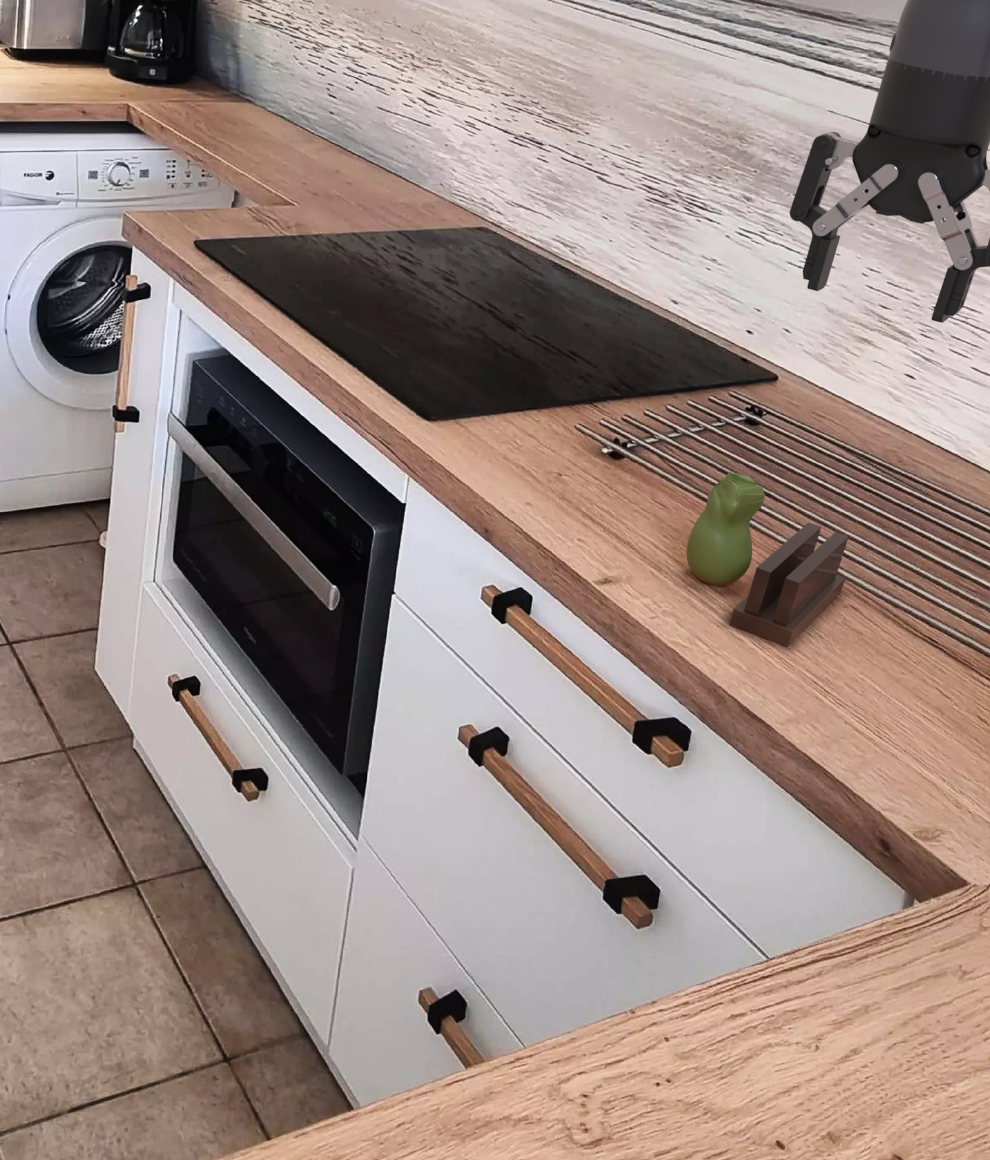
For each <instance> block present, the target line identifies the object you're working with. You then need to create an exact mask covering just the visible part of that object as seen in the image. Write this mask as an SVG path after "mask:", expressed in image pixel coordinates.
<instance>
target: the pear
mask: <svg viewBox="0 0 990 1160" xmlns="http://www.w3.org/2000/svg"><path fill="white" fill-rule="evenodd" d="M765 495H766V494H765V491H764V487H763V486H761V485H758V484H757V483H756V481H754V480H753V479H752V477H750V475H749V476H748V475H745V474H741V473H737V472H732V471H728V473H726V476H725V477H721V479H720V482H717V483H716V484H714V486H713V487H712V489H711V491H710V492H709V494H708V496H707V500H706V505H705V507H704V510H703V511H702V513H700V515H699V516H698V518H697V519H696V521H695V523H694V525H693V527H692V529H691V531H690V534H689V536H688V540H687V546H686V561H687V564H688V567H689V569H690V571H691V572H692V573H693V575H694V576H695V577H696V578H698V579H699V580H701V581H702V582H705V583H706V584H710V585H715V586H725V585H730V584H733V583H735V582H737V581H738V580H740V579H741V578H742V577H743V576H744V575H745V574H746V573H747V571H748V570H749V568H750V566H751V564H752V558H753V540H752V533H751V528H750V525H751V520H752V518H753V517H754V516H755V515H756V514H757V513H758V512H759V511H760V509H761V508H762V507H763V504H764V502H765Z"/></svg>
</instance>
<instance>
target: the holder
mask: <svg viewBox="0 0 990 1160" xmlns="http://www.w3.org/2000/svg"><path fill="white" fill-rule="evenodd" d="M821 530H822V526H820V525H817V524H814V523H811V522H807V523H806V524H804V526H803V527H801V528H800V529H799V530H798V531H797V532H795V534H794V535H792V536H791V537H789V538H788V540H786V541H785V542H784V543H783V544H782V545H781V546H779V547H778V548H777V549H776V550H775V551H773V552H772V553H771V554H770V555H769V556H768V557H766V559H764V560H763V561H762V562H761V563H760V564H759V565H758V566H757V567H756V568H755V571H754V575H753V579H752V582H751V585H750V588H749V592H748V595H747V596H746V597H745V599H743V600H742V602H740V603H739V604H738V605H736V607H735V608H733V611H732V615H731V617H730V621H729V624H728V625H729V626H732V627H734V628H737V629H739V630H742V631H745V632H747V633H750V634H753V635H754V636H758V637H760V638H763V639H765V640H767V641H768V640H769V641H771V642H773V643H776V644H779V645H781V646H784V647H787V648H789V646H790V645H792V644H793V642H794V641H795V640H796V639H797V638H798V637H799V636H800V635H801V634H802V633H803V632H804V631H805V630H806V629H807V628H809V626H810V624H812V623H813V622H814V621H815V620H816V619H817V618H818V616H819V615H821V613H823V612H824V611H825V609H827V607H828V606H830V604H831V603H833V601H835V599H836V598H837V597H838V596H839V595H840V594H841V593H842V591H843V587H844V584H845V581H846V577H844V576H841V575H838V571H839V569H840V565H841V562H842V560H843V555H844V553H845V549H846V546H847V543H848V541H849V535H847V534H844V533H840V532H839V531H835V532H833V534H831V535H830V536H829V537H828V538H827V539H826V540H825V541H824V542H823V543H822V544H821V545H819V546H818V547H817V548H816V546H817V544H818V540H819V537H820V533H821Z"/></svg>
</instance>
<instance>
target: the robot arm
mask: <svg viewBox="0 0 990 1160" xmlns="http://www.w3.org/2000/svg"><path fill="white" fill-rule="evenodd" d="M898 20H899V21H898V23H897V27H896V30H895V32H894V34H893V35H892V39H891V42H890V45H889V54H888V58H887V61H886V65H885V68H884V72H883V75H882V78H881V81H880V85H879V87H878V88H879V89H878V92H877V96H876V99H875V103H874V106H873V109H872V113H871V116H870V120H869V123H868V127H867V130H866V132H865V135H864V136H863V138H862V139H861V140H860V141H855V140H852V139H848V138H844V137H842V136H841V135H840V134H839V132H836V131H831V132H826V133H823V134H820V135H817V136H816V137H815V138H814V139H813V141H812V144H811V147H810V149H809V153H808V156H807V159H806V162H805V165H804V168H803V171H802V174H801V177H800V180H799V183H798V185H797V189H796V191H795V195H794V197H793V199H792V202H791V203H792V204H791V206H790V209H789V217H790V219H791V220H793V221H795V222H799V223H800V224H802V225H804V226H805V227H807V228H808V229H809V230H810V232H811V240H810V242H809V243H810V244H809V247H808V251H807V253H806V258H805V262H804V264H803V269H802V279H803V280H806V281H808V283H807V286H806V287H807V290H811V291H814V292H819V291H821V290H823V289H824V288H825V287H826V285H827V283H828V280H829V277H830V273H831V270H832V266H833V263H834V259H835V255H836V253H837V251H838V250H837V249H838V246H839V242H840V239H841V235H839V234H838V231H839V229H840V228H841V227H843V226H844V225H845V224H846V223H848V222H849V221H850V220H852V219H854V217H855V216H857V215H858V214H860V213H861V212H862V211H864V210H865V209H867V208H869V207H871V209H872V210H874V211H875V215H876V214H877V215H882V216H886V217H892V216H893V217H895V216H897V217H898V216H900V217H902V218H903V219H906V220H908V221H909V222H911V223H917V224H921V225H924V224H925V223H932V222H933V223H934V225H935V227H936V230H937V232H938V235H939V237H940V239H941V240H942V241H943V242H944V244H945V246H946V249H947V251H948V255H949V256H950V259H951V261H952V265H950V266H949V267H947V269H946V272H945V275H944V279H943V281H942V284H941V288H940V290H939V293H938V296H937V299H936V302H935V306H934V309H933V311H932V315H931V321H934V322H937V323H941V324H943V323H944V322H946V321H947V320H949V318H950V317H954V316H956V315H957V314H958V313H959V312H960V311H961V310H962V308H963V307H964V305H965V304H966V303H965V302H966V299H967V297H968V293H969V291H970V288H971V285H972V281H973V279H974V276H975V272H976V271H977V269H979V268H990V238H988V242H987V245H979V243H978V239H977V238H976V235H975V234H974V231H973V223H972V220H971V217H970V215H969V212H968V210H967V207H966V204H965V202H964V201H965V200H966V199H968V198H969V197H970V196H971V195H973V194H974V193H975V192H977V191H978V190H979V189H980V188H981V187H983V186H984V187H986V188H987V189H988V191H989V192H990V168H989V166H988V161H987V157H988V156H987V155H988V150H989V147H990V0H906V3H905V4H904V7H903V10H902V11H901V14H900V17H899V19H898ZM848 158H851V160H852V164H853V167H854V169H855V172H856V175H857V177H858V180H859V183H860V184H859V185H858V186H857V187H856V188H854V189H853V190H852V191H850V192H849V193H848V194H846V195H845V196H844V197H842V198H841V199H840V200H839V201H837V203H836V204H835V205H834V206H832V207H831V208H830V209H829V210H826V209H824V208H823V207H821V206H820V205H821V202H822V199H823V197H824V194H825V190H826V188H827V186H828V182H829V180H830V176H831V174H832V171H833V170H835V169H838V168H841V167H842V165H844V163H845V162H846V160H847V159H848Z"/></svg>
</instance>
